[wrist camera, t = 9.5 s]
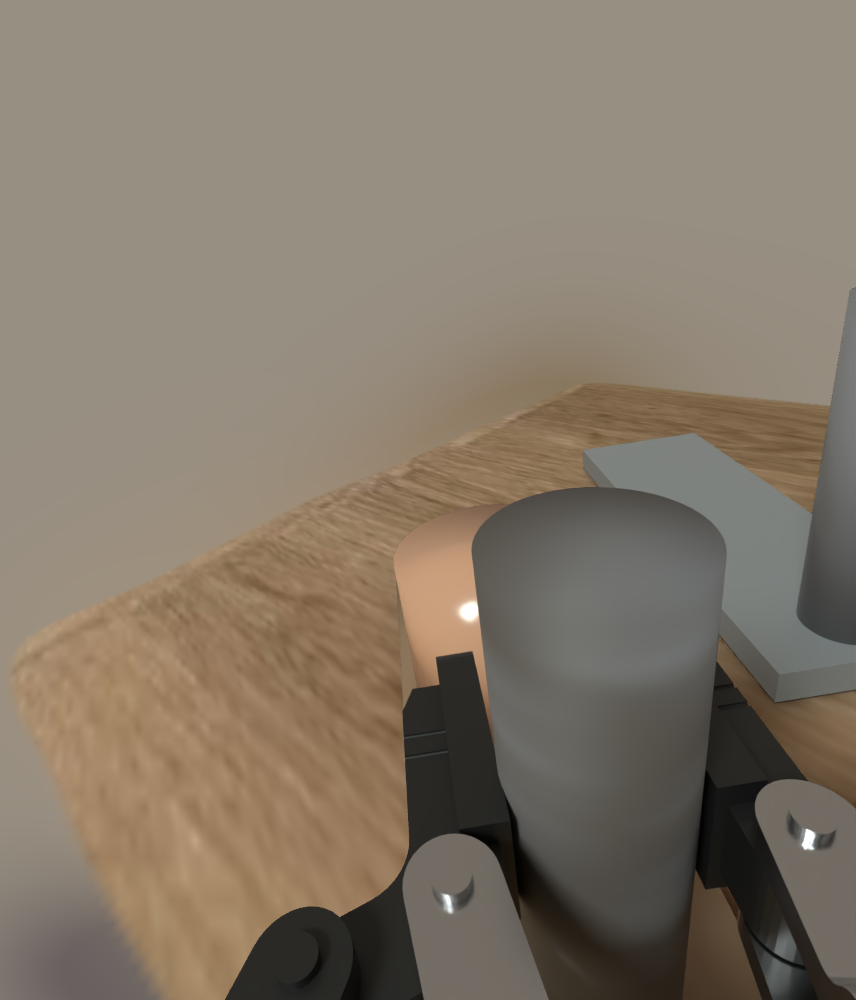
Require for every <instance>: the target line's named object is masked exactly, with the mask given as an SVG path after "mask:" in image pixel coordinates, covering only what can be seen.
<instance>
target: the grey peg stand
mask: <svg viewBox="0 0 856 1000" xmlns="http://www.w3.org/2000/svg"><path fill="white" fill-rule="evenodd" d="M583 468H584V469H585V471H586V472H587V473H588V474H589V476H590V477H591V478H592V479H593V481H594V482H595V483H596V484H597V485H598V487H608V488H621V489H630V490H637V491H643V492H647V493H652V494H656V495H659V496H663V497H666V498H669V499H672V500H674V501H677V502H680V503H682V504H684V505H686V506H688V507H690V508H692V509H694V510H696V511H697V512H699V513H700V514H702V515H703V516H705V517H706V518H707V519H708V520H710V521H711V522H712V523H713V524H714V525H715V526H716V528H717V529H718V530H719V532H720V533H721V535H722V536H723V538H724V541H725V544H726V550H727V559H726V569H725V579H724V589H723V599H722V609H721V619H720V629H719V635H720V636H721V637H722V639H723V640H724V641H725V642H726V643H727V645H728V646H729V647H730V648H731V650H732V651H733V652H734V653H735V655H736V656H737V657H738V658H739V659H740V661H741V662H742V663H743V664H744V666H745V667H746V668H747V669H748V670H749V672H750V673H751V674H752V675H753V677H754V678H755V679H756V680H757V681H758V683H759V684H760V685H761V686H762V688H763V689H764V690H765V691H766V692H767V694H768V695H769V696H770V697H771V699H772V700H773V701H774V702H782V701H788V700H794V699H800V698H806V697H813V696H819V695H825V694H831V693H837V692H844V691H850V690H856V287H855V288H852V289H851V290H850V292H849V298H848V304H847V311H846V317H845V322H844V328H843V334H842V340H841V346H840V352H839V358H838V364H837V370H836V376H835V382H834V388H833V394H832V400H831V406H830V412H829V417H828V423H827V429H826V435H825V441H824V447H823V453H822V459H821V465H820V471H819V477H818V483H817V489H816V495H815V501H814V507H813V513H812V514H811V513H810V512H808V511H807V510H805V509H804V508H803V507H801V506H800V505H798V504H797V503H795V502H794V501H792V500H791V499H790V498H788V497H787V496H785V495H784V494H782V493H781V492H779V491H778V490H776V489H775V488H774V487H772V486H771V485H769V484H768V483H766V482H765V481H763V480H762V479H760V478H759V477H758V476H756V475H755V474H753V473H752V472H750V471H749V470H747V469H746V468H744V467H743V466H742V465H740V464H739V463H737V462H736V461H734V460H733V459H731V458H730V457H728V456H727V455H726V454H724V453H723V452H721V451H720V450H718V449H717V448H715V447H714V446H713V445H711V444H710V443H708V442H707V441H705V440H704V439H702V438H701V437H699V436H698V435H697V434H695V433H691V434H685V435H678V436H672V437H665V438H659V439H652V440H646V441H640V442H633V443H627V444H620V445H614V446H607V447H601V448H594V449H588V450H583Z"/></svg>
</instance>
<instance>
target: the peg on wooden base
mask: <svg viewBox="0 0 856 1000" xmlns="http://www.w3.org/2000/svg"><path fill="white" fill-rule="evenodd" d="M471 553H472V561H473V569H474V578H475V586H476V595H477V603H478V612H479V620H480V628H481V637H482V645H483V654H484V662H485V671H486V679H487V687H488V696H489V704H490V713H491V721H492V729H493V738H494V742H493V745H494V749H495V755H496V763H497V770H498V776H499V779H500V782H501V786H502V788H503V790H504V794H505V799H506V803H507V808H508V812H509V817H510V822H511V831H512V840H513V849H514V858H515V867H516V876H517V885H518V894H519V903H520V912H521V919H520V922H521V925H522V927H523V930H524V933H525V936H526V938H527V941H528V944H529V947H530V950H531V952H532V955H533V958H534V961H535V963H536V966H537V969H538V972H539V974H540V977H541V980H542V983H543V985H544V988H545V991H546V994H547V996H548V999H549V1000H762V998H761V995H760V992H759V990H758V987H757V984H756V981H755V978H754V975H753V972H752V970H751V967H750V964H749V961H748V958H747V955H746V952H745V950H744V947H743V944H742V941H741V938H740V935H739V931H738V926H737V919H736V917H735V915H734V913H733V912H732V910H731V908H730V906H729V904H728V902H727V900H726V898H725V896H724V894H723V892H722V890H721V888H720V887H719V888H713V889H707V890H705V888H704V886H703V884H702V881H701V879H700V877H699V875H698V873H697V871H696V869H695V868H696V858H697V848H698V838H699V828H700V818H701V808H702V798H703V788H704V778H705V768H706V758H707V748H708V738H709V728H710V719H711V709H712V699H713V689H714V679H715V669H716V659H717V649H718V639H719V629H720V619H721V609H722V599H723V589H724V579H725V569H726V559H727V550H726V544H725V541H724V538H723V536H722V535H721V533H720V532H719V530H718V529H717V528H716V526H715V525H714V524H713V523H712V522H711V521H710V520H708V519H707V518H706V517H705V516H703V515H702V514H700V513H699V512H697V511H696V510H694V509H692V508H690V507H688V506H686V505H684V504H682V503H680V502H677V501H674V500H672V499H669V498H666V497H663V496H659V495H656V494H652V493H647V492H643V491H637V490H630V489H621V488H608V487H584V488H571V489H563V490H556V491H551V492H545V493H541V494H538V495H534V496H531V497H527V498H524V499H521V500H519V501H517V502H514V503H512V504H510V505H508V506H506V507H504V508H502V509H500V510H499V511H497V512H496V513H494V514H493V515H492V516H490V517H489V518H488V519H487V520H486V521H485V522H484V523H483V524H482V525H481V526H480V527H479V529H478V531H477V532H476V534H475V536H474V539H473V542H472V549H471ZM396 584H397V579H396ZM397 602H398V620H399V637H400V655H401V673H402V691H403V709H404V707H405V705H406V702H407V700H408V698H409V696H410V693H411V691H412V689H415V688H417V685H416V680H415V675H414V669H413V664H412V659H411V653H410V648H409V643H408V637H407V632H406V627H405V621H404V616H403V611H402V605H401V600H400V595H399V589H398V584H397Z"/></svg>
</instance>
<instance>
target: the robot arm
mask: <svg viewBox="0 0 856 1000" xmlns="http://www.w3.org/2000/svg"><path fill="white" fill-rule="evenodd" d="M436 664H437V671H438V678H439V685H434V686H428V687H421V688H415V689H412V691H411V693H410V696H409V698H408V700H407V702H406V705H405V707H404V709H403V730H404V748H405V760H406V761H405V767H406V785H407V804H408V822H409V850H408V855H407V858H406V861H405V864H404V866H403V868H402V870H401V872H400V873H399V875H398V876H397V878H396V879H395V881H394V882H393V883H392V884H391V885H390V886H389V887H388V888H387V889H386V890H385V891H384V892H382V893H381V894H380V895H379V896H377V897H375V898H374V899H372V900H371V901H369V902H367V903H365V904H363V905H361V906H360V907H358V908H356V909H354V910H352V911H350V912H348V913H347V914H345V915H343V916H341V917H339V916H337V915H336V914H335V913H333V912H332V911H330V910H327V909H325V908H321V907H303V908H299V909H296V910H293V911H290V912H289V913H287V914H285V915H283V916H281V917H280V918H279V919H277V920H276V921H274V922H273V923H272V924H271V925H270V926H269V927H268V928H267V929H266V930H265V931H264V933H263V934H262V935H261V936H260V938H259V939H258V941H257V942H256V944H255V945H254V947H253V949H252V951H251V953H250V954H249V956H248V958H247V960H246V962H245V964H244V965H243V967H242V969H241V971H240V973H239V975H238V977H237V978H236V980H235V982H234V984H233V986H232V988H231V989H230V991H229V993H228V995H227V997H226V999H225V1000H549V999H548V996H547V994H546V991H545V988H544V985H543V983H542V980H541V977H540V974H539V972H538V969H537V966H536V963H535V961H534V958H533V955H532V952H531V950H530V947H529V944H528V941H527V938H526V936H525V933H524V930H523V927H522V925H521V922H520V919H521V912H520V903H519V894H518V885H517V876H516V867H515V858H514V849H513V840H512V831H511V822H510V817H509V812H508V808H507V803H506V799H505V794H504V790H503V788H502V786H501V782H500V779H499V776H498V770H497V763H496V755H495V749H494V745H493V740H492V736H491V731H490V727H489V722H488V718H487V713H486V709H485V704H484V700H483V695H482V691H481V686H480V682H479V677H478V673H477V668H476V664H475V659H474V655H473V652H472V651H469V652H463V653H456V654H450V655H444V656H437V657H436ZM695 869H696V871H697V873H698V875H699V877H700V879H701V881H702V884H703V886H704V888H705V890H707V889H713V888H719V887H725V886H728V888H729V890H730V892H731V893H732V895H733V897H734V899H735V901H736V903H737V905H738V907H739V908H738V916H737V926H738V931H739V935H740V938H741V941H742V944H743V947H744V950H745V952H746V955H747V958H748V961H749V964H750V967H751V970H752V972H753V975H754V978H755V981H756V984H757V987H758V990H759V992H760V995H761V998H762V1000H856V809H855V808H854V807H853V806H852V805H851V804H850V803H849V802H847V801H846V800H845V799H844V798H842V797H841V796H839V795H838V794H836V793H835V792H833V791H831V790H829V789H827V788H825V787H823V786H820V785H818V784H815V783H811V782H809V781H808V780H807V779H806V778H805V777H804V776H803V774H802V773H801V772H800V770H799V769H798V768H797V766H796V765H795V764H794V763H793V761H792V760H791V759H790V757H789V756H788V755H787V753H786V752H785V751H784V749H783V748H782V747H781V745H780V744H779V743H778V741H777V740H776V739H775V738H774V736H773V735H772V734H771V732H770V731H769V730H768V728H767V727H766V726H765V724H764V723H763V722H762V720H761V719H760V718H759V716H758V715H757V714H756V713H755V711H754V710H753V709H752V707H751V706H748V704H747V701H746V699H745V698H744V697H743V695H742V694H741V693H740V691H739V690H738V689H737V688H734V685H733V682H732V681H731V680H730V678H729V677H728V676H727V674H726V673H725V672H724V670H723V669H722V668H721V666H720V665H719V664H718V663H717V661H716V669H715V679H714V689H713V699H712V709H711V719H710V728H709V738H708V748H707V758H706V768H705V778H704V788H703V798H702V808H701V818H700V828H699V838H698V848H697V858H696V868H695Z"/></svg>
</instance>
